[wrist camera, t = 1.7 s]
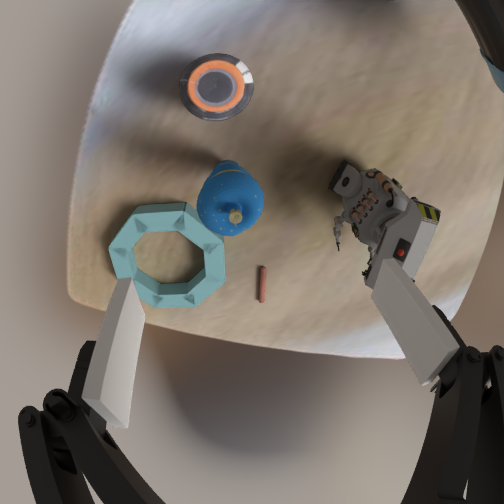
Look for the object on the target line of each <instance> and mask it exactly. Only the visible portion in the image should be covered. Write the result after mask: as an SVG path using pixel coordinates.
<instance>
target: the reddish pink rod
mask: <svg viewBox="0 0 504 504" xmlns="http://www.w3.org/2000/svg"><path fill="white" fill-rule="evenodd" d="M265 283H266V268H265V267H262V268H261V275H260V292H259V302H260V303H263V302H264V297H265Z"/></svg>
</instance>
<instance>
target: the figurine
mask: <svg viewBox="0 0 504 504" xmlns="http://www.w3.org/2000/svg"><path fill="white" fill-rule="evenodd" d="M328 189H330V190H332V191H334V192H336V193H338V194H340V195H342V201H343V208H344V211H343V213H342V215H341V217H340V216H336V217H335V218H334V221H335V227H334V228H333V231H334V235H335V237H336V241H337V242H336V244H337V246H338V251H339V245H338V244H340V243H339V236H341V232H340V228H341V227H342V222H344V221H346V222H348V223H350V224H351V226H352V231H353V232H354V234H355V238H357V237H358V239H359V240H360V242H362V243H364V244H366V245H368V246H369V247H368V251H369V252H370V259H369V261H368V263H367V264H368V265H369V263H370V261H371V263H370V265H369V267H368V270H365V272H366V273H365V272H362V275H363V276H365V277H364V281H365V285H366V286H368V287H370V288H372V289H374V286H375V283H376V280H377V277H378V274H379V271H380V268H381V265H382V262H383V259H391V258H394V259H395V260H396V261H397V263H398V264H399V265H400V266H401V267H402V269H403V270H404V271H405V272H406V273H407V275H408V276H409V277H410V278H411V280H412V281H413V282H415V280H413V279H414V277H415V275H416V273H417V271H418V269H419V267H420V265H421V263H422V260H423V258H424V256H425V254H426V252H427V249H428V247H429V245H430V242H431V240H432V238H433V235H434V233H435V230H436V228H437V225H438V223H439V218H440V212H441V211H440V210H439V209H437V208H435V207H433V206H431V205H428V204H425V203H423V202H419V201H418V200H417V198H416V197H412V198H411V199H410V198H408V197H407V196H406V195H405V193H404V192H403V191H402V190H401V189H402V186H401V185H400V184H399V183H398V182H397V181H396V180H395V179H394V178H393V179H392V180H391V179H390V178H388V177H387V176H386V175H384V174H383V173H382V172H381V171H378V170H377V169H376V168H374V169H370V170H365V171H361V172H358V171H357V170H356V169H355V168H354V166H353V165H352V164H351V163H349V162H348V161H346V160H344V162H343V163H342V164H341V167H340V168H339V169H338V172H337V174H336V175H335V177H334V178H333V181H332V182H331V183H330V185H329V188H328ZM374 252H375V253H374Z"/></svg>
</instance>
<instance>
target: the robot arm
mask: <svg viewBox="0 0 504 504" xmlns="http://www.w3.org/2000/svg"><path fill="white" fill-rule="evenodd" d="M455 1H456V2H457V4H458V6H459V7H460V9H461V11H462V13H463V15H464V16H465V18H466V20H467V22H468V24H469V26H470V28H471V30H472V32H473V34H474V36H475V38H476V40H477V42H478V44H479V47H480V53H481V55H482V57H483V58H484V59H485V61H486V63H487V65H488V67H489V70H490V72H491V74H492V77H493V79H494V81H495V83H496V85H497V86H498V87H499V89H500V90H501V91H502V92H503V93H504V0H455ZM371 298H372V299H373V301H374V303H375V304H376V306H377V308H378V309H379V311H380V313H381V314H382V316H383V318H384V319H385V321H386V323H387V324H388V326H389V328H390V330H391V331H392V333H393V335H394V337H395V338H396V340H397V342H398V344H399V345H400V347H401V349H402V351H403V353H404V355H405V356H406V358H407V360H408V362H409V364H410V366H411V367H412V370H413V371H414V373H415V375H416V377H417V379H418V381H419V383H420V385H421V386H423V385H425V384H428V383H430V382H432V381H433V380H434V379H435V378H436V376H437V375H439V377H440V380H439V381H438V382H437V383H436V384H435V385H434V386H433V387H432V388H431V392H432V391H433V390H434V389H435V388H436V387H437V389H436V391H435V393H436V394H435V399H434V404H433V409H432V413H431V417H430V422H429V426H428V429H427V433H426V437H425V440H424V443H423V447H422V450H421V453H420V456H419V459H418V462H417V465H416V468H415V471H414V473H413V476H412V479H411V481H410V484H409V486H408V489H407V491H406V493H405V496H404V498H403V500H402V502H401V504H504V348H502V347H501V346H498V345H496V346H493V347H492V349H491V350H490V351H489V352H482V353H480V352H479V351H478V350H477V349H476V348H474V347H471V346H468V347H467V346H466V345H465V343H464V342H463V340H462V339H461V338H460V336H459V335H458V333H457V331H456V330H455V329H454V327H453V326H451V323H450V322H449V320H447V317H446V316H445V315H444V313H443V312H442V311H441V310H440V309H439V308H438V307H436V306H435V305H432V306H431V304H430V303H429V302H428V300H427V299H426V298H425V296H424V295H423V294H422V292H421V291H420V290H419V289H418V287H417V286H416V285H415V283H414V282H413V281H412V280H411V278H410V277H409V276H408V275H407V273H406V272H405V271H404V270H403V269H402V267H401V266H400V265H399V264H398V263H397V261H396V260H395V259H394V258H391V259H383V262H382V265H381V268H380V271H379V274H378V277H377V280H376V283H375V286H374V289H373V292H372V295H371ZM144 322H145V314H144V311H143V309H142V306H141V303H140V300H139V297H138V294H137V291H136V288H135V285H134V282H133V279H132V278H120V279H118V281H117V284H116V286H115V289H114V291H113V294H112V297H111V300H110V302H109V305H108V308H107V311H106V314H105V317H104V319H103V322H102V325H101V329H100V332H99V335H98V338H97V341H86V343H85V344H84V345H83V346H82V348H81V349H80V352H79V355H78V358H77V362H76V365H75V369H74V372H73V375H72V379H71V382H70V386H69V390H68V393H67V392H66V391H64V390H62V389H54V390H51V391H50V392H49V393H47V394H46V396H45V398H44V402H43V409H44V411H39V410H37V409H36V408H35V407H33V406H26V407H24V408H23V409H22V410H21V411H20V413H19V416H18V425H19V432H20V439H21V445H22V451H23V456H24V461H25V465H26V469H27V473H28V477H29V481H30V485H31V488H32V492H33V495H34V498H35V501H36V504H95V503H94V501H93V499H92V496H91V494H90V491H89V489H88V486H87V484H86V481H85V478H84V476H83V474H84V475H85V477H86V478H87V480H88V482H89V483H90V485H91V486H92V488H93V489H94V491H95V492H96V494H97V495H98V496H99V498H100V499H101V501H102V502H103V503H104V504H165V503H164V502H163V501H162V499H161V498H160V497H159V496H158V495H157V494H156V493H155V492H154V491H153V490H152V488H151V487H150V486H149V485H148V484H147V483H146V482H145V480H144V479H143V478H142V477H141V476H140V474H139V473H138V472H137V471H136V470H135V468H134V467H133V466H132V464H131V463H130V462H129V461H128V459H127V458H126V456H125V455H124V454H123V453H122V451H121V450H120V448H119V447H118V445H117V444H116V443H115V441H114V440H113V438H112V437H111V435H110V434H109V432H108V431H107V430H106V423H109V424H110V425H111V426H112V427H118V428H126V429H128V426H129V416H130V407H131V399H132V391H133V384H134V377H135V371H136V365H137V359H138V353H139V347H140V341H141V337H142V331H143V327H144ZM490 381H491V385H492V386H491V387H490V388H489V389H488V387H487V384H488V383H489V382H490ZM82 472H83V473H82ZM467 480H468V485H467V494H466V500H465V499H464V498H463V494H464V490H465V487H466V483H467Z"/></svg>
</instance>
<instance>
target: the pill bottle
mask: <svg viewBox="0 0 504 504" xmlns="http://www.w3.org/2000/svg"><path fill="white" fill-rule="evenodd" d="M253 89H254V88H253V79H252V76H251V73H250V71H249V70H248V68H247V67H246V66H245V64H244V63H242V62H241V61H240V60H239V59H237V58H235V57H233V56H231V55H227V54H220V53H215V54H209V55H205V56H202V57H200V58H198V59H196V60H195V61H193V62H192V63H191V64H190V65H189V66H188V67H187V68H186V70H185V71H184V73H183V75H182V77H181V80H180V84H179V93H180V97H181V100H182V102H183V104H184V106H185V107H186V108H187V109H188V111H189V112H191V113H192V114H193V115H195V116H196V117H199V118H201V119H204V120H209V121H221V120H226V119H229V118H231V117H233V116H235V115H237V114H239V113H240V112H241V111H242V110H243V109H244V108H245V107H246V106H247V105H248V103H249V101H250V99H251V97H252V94H253Z"/></svg>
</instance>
